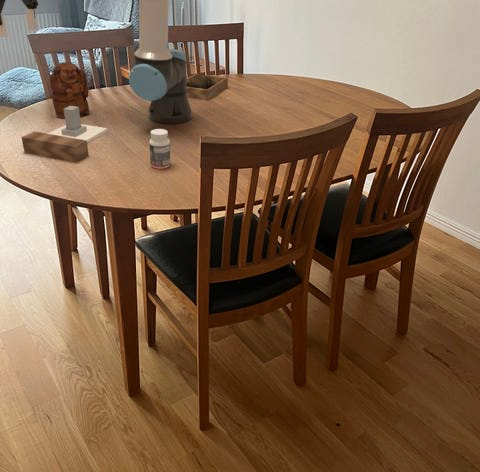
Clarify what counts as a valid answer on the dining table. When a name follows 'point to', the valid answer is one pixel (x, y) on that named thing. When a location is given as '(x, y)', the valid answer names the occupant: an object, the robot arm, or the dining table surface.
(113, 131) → the dining table surface
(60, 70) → the wooden figurine
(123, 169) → the dining table surface
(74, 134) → the fulcrum
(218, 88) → the wooden tray
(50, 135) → the bar
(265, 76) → the dining table surface
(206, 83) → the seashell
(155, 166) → the pill bottle
